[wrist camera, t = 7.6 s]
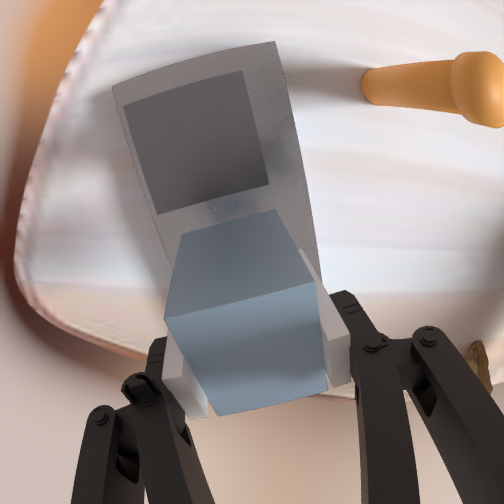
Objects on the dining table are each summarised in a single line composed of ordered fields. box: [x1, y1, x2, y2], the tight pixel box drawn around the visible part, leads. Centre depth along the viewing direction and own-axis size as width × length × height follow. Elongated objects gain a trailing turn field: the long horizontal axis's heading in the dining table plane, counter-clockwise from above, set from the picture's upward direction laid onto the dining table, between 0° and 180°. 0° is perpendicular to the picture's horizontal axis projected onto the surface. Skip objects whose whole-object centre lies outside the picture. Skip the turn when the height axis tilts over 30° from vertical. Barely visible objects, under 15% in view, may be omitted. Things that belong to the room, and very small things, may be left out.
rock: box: [465, 341, 493, 394], centre depth 39 cm, size 11×9×10 cm
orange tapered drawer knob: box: [361, 51, 504, 128], centre depth 16 cm, size 4×4×14 cm
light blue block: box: [164, 209, 328, 416], centre depth 14 cm, size 6×5×7 cm
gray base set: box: [112, 41, 322, 282], centre depth 19 cm, size 25×12×16 cm, turn 13°
